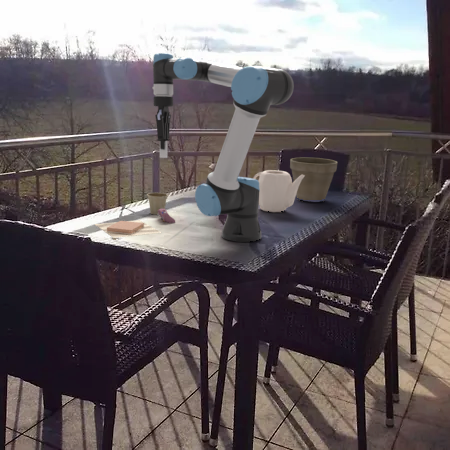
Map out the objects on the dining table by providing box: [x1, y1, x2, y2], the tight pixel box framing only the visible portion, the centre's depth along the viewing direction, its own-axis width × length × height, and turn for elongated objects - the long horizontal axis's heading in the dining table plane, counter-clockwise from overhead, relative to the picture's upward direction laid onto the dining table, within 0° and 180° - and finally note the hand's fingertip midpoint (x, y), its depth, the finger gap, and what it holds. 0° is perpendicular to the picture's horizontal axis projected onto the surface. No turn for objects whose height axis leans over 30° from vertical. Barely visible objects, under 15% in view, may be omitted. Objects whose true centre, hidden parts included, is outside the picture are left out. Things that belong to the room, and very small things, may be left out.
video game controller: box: [156, 208, 176, 224], centre depth 213 cm, size 10×5×7 cm, turn 21°
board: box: [94, 219, 162, 241], centre depth 198 cm, size 22×19×1 cm
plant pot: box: [289, 157, 338, 200], centre depth 273 cm, size 25×25×22 cm
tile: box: [107, 220, 145, 234], centre depth 196 cm, size 10×2×12 cm
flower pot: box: [146, 192, 169, 216], centre depth 228 cm, size 9×9×9 cm
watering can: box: [252, 169, 305, 213], centre depth 243 cm, size 16×27×19 cm, turn 62°
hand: (163, 157), depth 201 cm, fingers closed
